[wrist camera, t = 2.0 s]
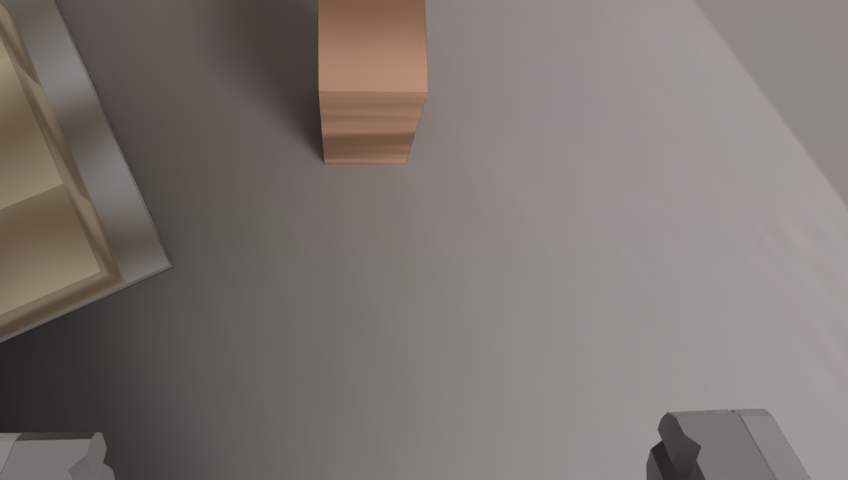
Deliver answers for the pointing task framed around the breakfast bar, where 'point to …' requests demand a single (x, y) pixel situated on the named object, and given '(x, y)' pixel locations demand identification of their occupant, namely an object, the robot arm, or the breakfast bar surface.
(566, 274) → the breakfast bar surface
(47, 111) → the grey open box frame
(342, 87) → the peg
